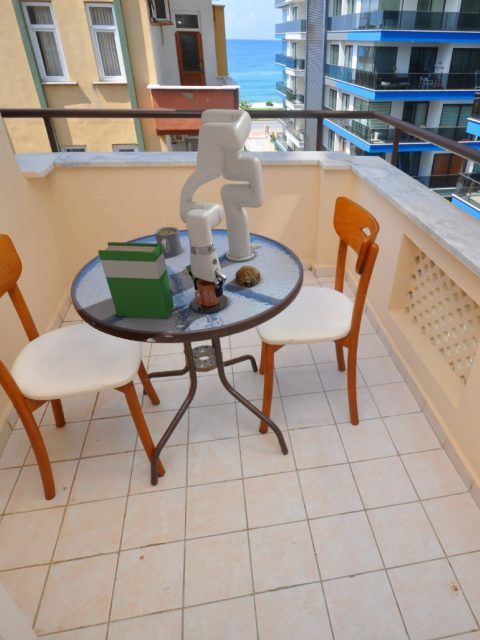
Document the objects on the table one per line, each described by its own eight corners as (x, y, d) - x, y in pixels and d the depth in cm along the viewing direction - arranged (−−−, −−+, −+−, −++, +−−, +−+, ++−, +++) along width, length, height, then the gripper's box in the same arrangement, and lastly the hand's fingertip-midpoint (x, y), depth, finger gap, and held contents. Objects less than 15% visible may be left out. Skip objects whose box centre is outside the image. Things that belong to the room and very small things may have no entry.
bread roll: (263, 287, 167) (265, 267, 166) (253, 288, 158) (255, 267, 156) (241, 283, 170) (243, 264, 168) (229, 284, 160) (232, 263, 159)
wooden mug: (208, 295, 153) (205, 275, 148) (223, 299, 150) (220, 280, 146) (190, 306, 146) (186, 287, 141) (205, 312, 143) (202, 291, 139)
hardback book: (117, 315, 143) (97, 251, 129) (126, 304, 149) (108, 242, 135) (167, 318, 142) (153, 253, 128) (174, 306, 148) (161, 243, 134)
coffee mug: (165, 246, 191) (161, 226, 186) (185, 248, 190) (181, 227, 184) (151, 258, 181) (146, 237, 175) (172, 260, 179) (168, 239, 173)
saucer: (220, 291, 157) (220, 289, 157) (233, 307, 148) (233, 305, 147) (187, 300, 152) (186, 298, 151) (198, 317, 142) (198, 315, 142)
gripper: (229, 249, 137) (234, 293, 147) (190, 238, 144) (197, 282, 154) (215, 258, 131) (221, 303, 141) (174, 246, 138) (183, 291, 148)
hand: (208, 292), depth 148 cm, fingers open, 9 cm apart
